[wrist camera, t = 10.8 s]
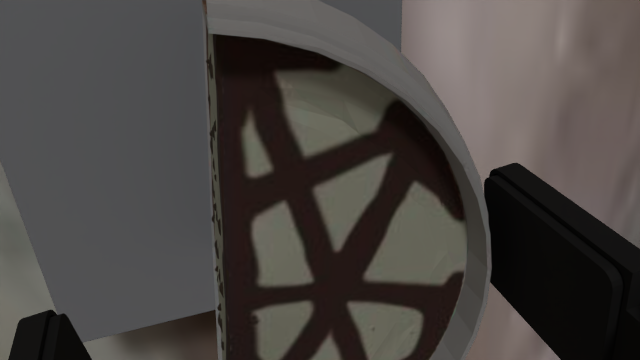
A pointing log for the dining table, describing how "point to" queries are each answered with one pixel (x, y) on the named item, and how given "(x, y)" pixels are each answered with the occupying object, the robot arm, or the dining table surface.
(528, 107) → the dining table surface
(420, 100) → the food container
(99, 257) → the grey block
